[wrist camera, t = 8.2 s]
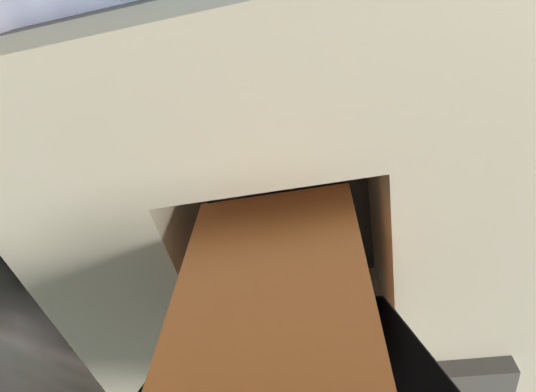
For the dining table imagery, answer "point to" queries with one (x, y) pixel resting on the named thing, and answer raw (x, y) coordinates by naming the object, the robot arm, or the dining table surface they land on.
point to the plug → (274, 301)
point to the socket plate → (277, 161)
